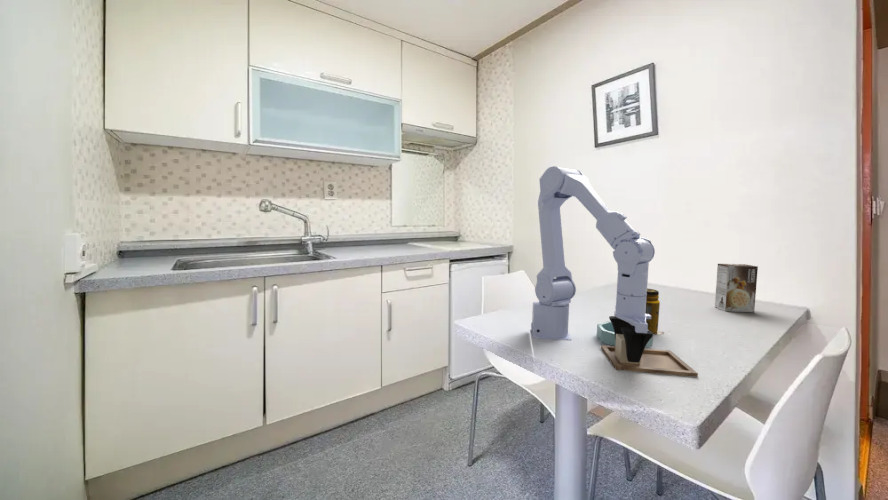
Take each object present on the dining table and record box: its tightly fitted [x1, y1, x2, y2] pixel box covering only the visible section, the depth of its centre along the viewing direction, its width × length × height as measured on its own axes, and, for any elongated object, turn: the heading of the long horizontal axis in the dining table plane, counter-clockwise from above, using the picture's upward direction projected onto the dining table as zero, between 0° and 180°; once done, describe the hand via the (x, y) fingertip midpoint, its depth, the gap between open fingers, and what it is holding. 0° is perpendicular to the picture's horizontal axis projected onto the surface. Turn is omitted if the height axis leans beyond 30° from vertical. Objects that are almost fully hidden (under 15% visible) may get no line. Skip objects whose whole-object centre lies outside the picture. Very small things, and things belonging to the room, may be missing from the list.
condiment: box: [645, 287, 665, 335], centre depth 95 cm, size 7×8×12 cm
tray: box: [600, 344, 699, 378], centre depth 75 cm, size 15×12×1 cm
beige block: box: [615, 334, 641, 364], centre depth 75 cm, size 4×4×5 cm
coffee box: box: [714, 263, 759, 313], centre depth 120 cm, size 9×6×16 cm
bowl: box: [596, 321, 654, 349], centre depth 87 cm, size 12×12×4 cm
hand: (627, 354), depth 75 cm, fingers open, 7 cm apart
